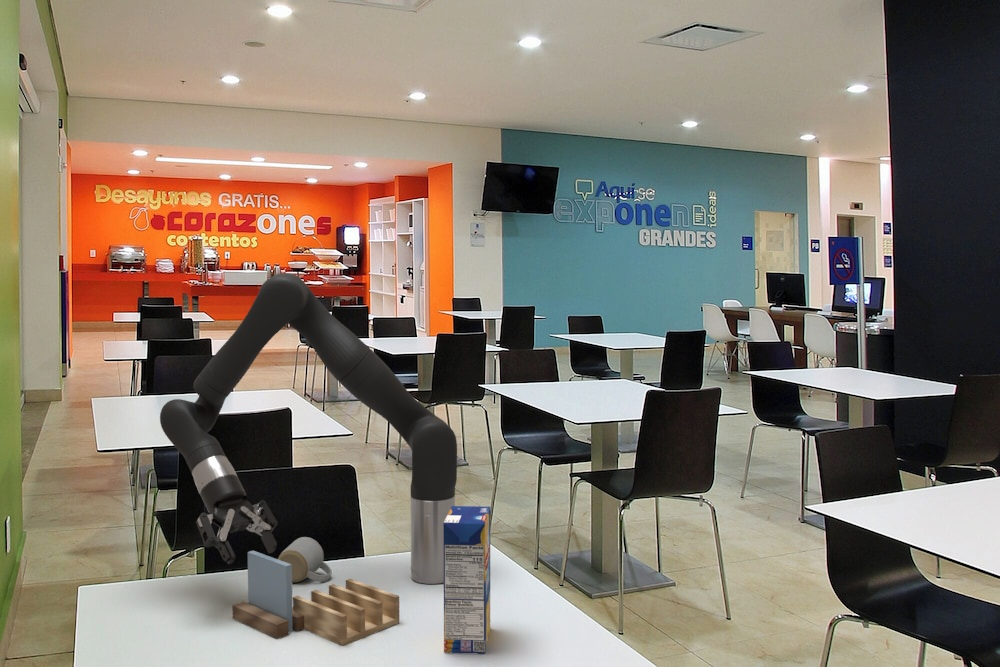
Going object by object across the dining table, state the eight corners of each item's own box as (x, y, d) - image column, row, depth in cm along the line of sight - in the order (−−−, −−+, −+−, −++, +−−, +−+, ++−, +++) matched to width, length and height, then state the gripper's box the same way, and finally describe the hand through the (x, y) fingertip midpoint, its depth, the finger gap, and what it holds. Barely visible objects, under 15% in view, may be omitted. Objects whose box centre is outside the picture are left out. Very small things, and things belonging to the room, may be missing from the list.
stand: (232, 618, 159) (232, 605, 158) (263, 608, 163) (263, 595, 163) (277, 639, 149) (276, 624, 149) (308, 627, 154) (308, 613, 154)
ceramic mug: (273, 583, 177) (273, 546, 177) (290, 570, 185) (290, 535, 185) (322, 587, 175) (322, 550, 175) (337, 574, 183) (337, 538, 183)
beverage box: (443, 653, 144) (443, 522, 142) (452, 627, 155) (451, 505, 153) (484, 654, 143) (484, 523, 142) (490, 628, 154) (490, 506, 153)
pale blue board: (248, 615, 160) (247, 552, 159) (254, 614, 161) (253, 550, 160) (286, 633, 152) (286, 566, 151) (292, 631, 153) (291, 564, 152)
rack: (293, 624, 156) (292, 597, 155) (350, 604, 166) (349, 578, 165) (342, 645, 147) (342, 616, 146) (399, 623, 156) (399, 595, 156)
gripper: (191, 479, 159) (226, 554, 152) (258, 467, 170) (293, 536, 163) (177, 503, 163) (210, 576, 156) (244, 489, 173) (278, 558, 167)
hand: (253, 556), depth 159 cm, fingers open, 8 cm apart
